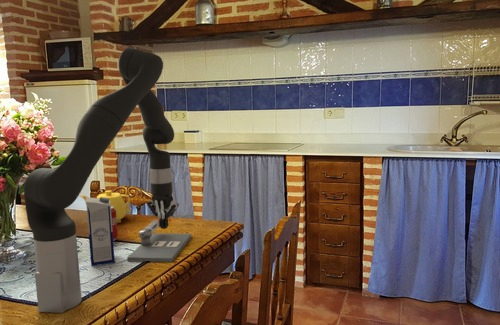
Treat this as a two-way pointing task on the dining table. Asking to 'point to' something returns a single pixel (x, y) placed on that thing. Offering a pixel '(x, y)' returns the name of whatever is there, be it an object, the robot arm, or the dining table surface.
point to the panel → (160, 247)
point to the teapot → (115, 203)
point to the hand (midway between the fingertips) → (164, 228)
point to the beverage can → (114, 223)
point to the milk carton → (100, 231)
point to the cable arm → (149, 229)
